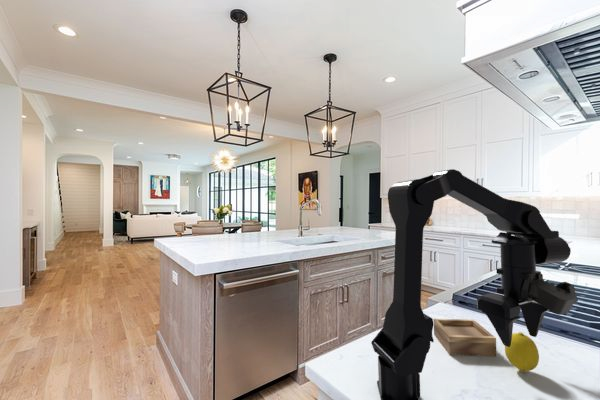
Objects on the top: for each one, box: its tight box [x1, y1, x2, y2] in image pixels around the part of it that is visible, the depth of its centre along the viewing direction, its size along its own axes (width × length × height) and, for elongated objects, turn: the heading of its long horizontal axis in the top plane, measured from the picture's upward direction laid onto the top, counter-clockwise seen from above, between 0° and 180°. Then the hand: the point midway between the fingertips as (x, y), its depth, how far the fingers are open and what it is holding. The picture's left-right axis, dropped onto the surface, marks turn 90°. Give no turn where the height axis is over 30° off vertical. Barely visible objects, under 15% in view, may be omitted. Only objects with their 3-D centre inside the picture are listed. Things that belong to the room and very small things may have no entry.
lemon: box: [504, 331, 540, 373], centre depth 58 cm, size 6×6×8 cm
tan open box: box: [433, 318, 498, 358], centre depth 69 cm, size 10×10×4 cm
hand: (520, 340), depth 58 cm, fingers open, 9 cm apart
